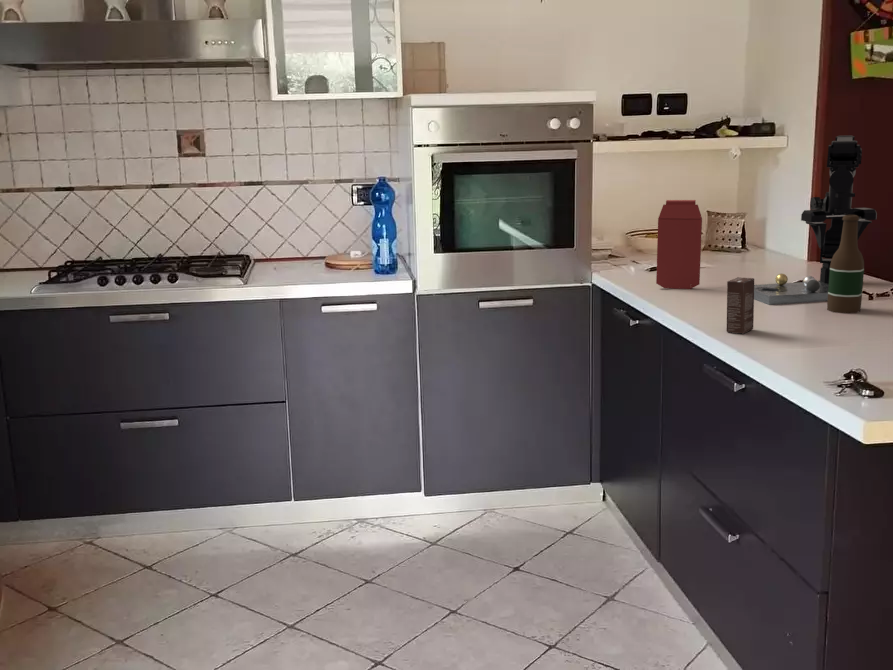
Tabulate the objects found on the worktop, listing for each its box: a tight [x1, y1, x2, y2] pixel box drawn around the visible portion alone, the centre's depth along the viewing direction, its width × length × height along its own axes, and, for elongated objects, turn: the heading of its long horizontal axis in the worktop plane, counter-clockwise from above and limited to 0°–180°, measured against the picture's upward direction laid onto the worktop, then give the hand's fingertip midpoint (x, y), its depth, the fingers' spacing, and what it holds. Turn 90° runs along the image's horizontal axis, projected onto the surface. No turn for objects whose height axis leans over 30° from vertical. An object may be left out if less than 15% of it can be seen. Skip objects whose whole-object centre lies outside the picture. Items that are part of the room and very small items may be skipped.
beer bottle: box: [826, 215, 865, 314], centre depth 222 cm, size 8×8×24 cm
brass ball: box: [775, 273, 789, 285], centre depth 248 cm, size 3×3×3 cm
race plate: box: [754, 280, 829, 306], centre depth 244 cm, size 23×16×2 cm
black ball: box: [807, 279, 820, 292], centre depth 238 cm, size 3×3×3 cm
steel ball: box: [802, 275, 816, 287], centre depth 244 cm, size 3×3×3 cm
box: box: [726, 276, 755, 335], centre depth 206 cm, size 6×4×12 cm
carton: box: [655, 199, 703, 290], centre depth 260 cm, size 12×5×25 cm, turn 74°
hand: (836, 247), depth 243 cm, fingers open, 9 cm apart
